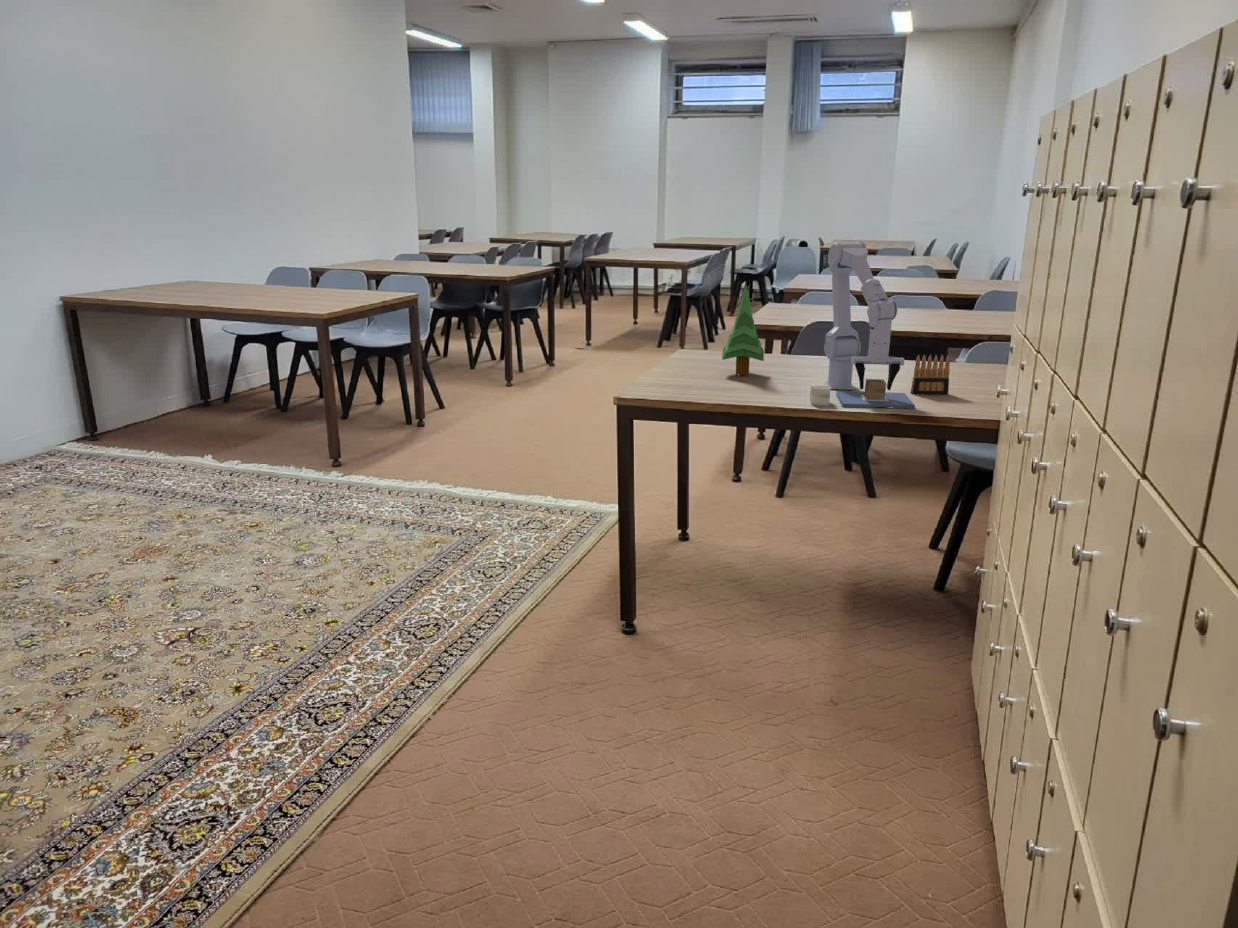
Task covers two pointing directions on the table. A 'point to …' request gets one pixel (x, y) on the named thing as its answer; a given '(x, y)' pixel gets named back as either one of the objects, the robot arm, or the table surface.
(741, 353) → the decorative tree
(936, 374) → the ammunition clip
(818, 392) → the off-white block
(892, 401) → the board
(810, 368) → the table surface
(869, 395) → the walnut block
